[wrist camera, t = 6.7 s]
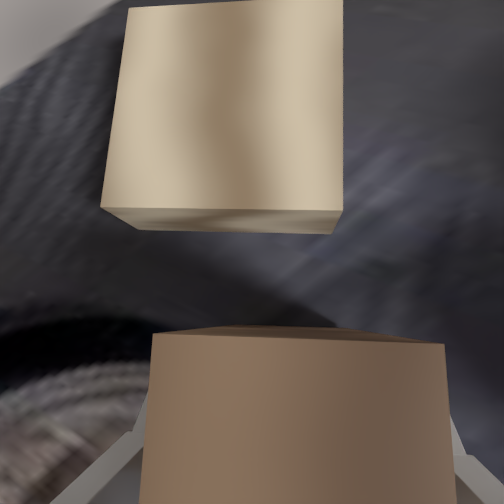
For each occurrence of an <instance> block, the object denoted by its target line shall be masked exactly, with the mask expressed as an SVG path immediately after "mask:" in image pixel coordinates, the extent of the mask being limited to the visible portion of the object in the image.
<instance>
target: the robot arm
mask: <svg viewBox="0 0 504 504" xmlns="http://www.w3.org/2000/svg"><path fill="white" fill-rule="evenodd" d="M147 400H148V392H147V394H146V397H145V399H144V402H143V404H142V407H141V409H140V412H139V415H138V417H137V420H136V422H135V425H134V427H133V430H132V431H127V432H126V433H125V434H124V435H122V436H121V437H120V438H119V439H118V440H117V441H116V442H115V443H114V444H113V445H112V446H111V447H110V448H109V449H107V450H106V451H105V452H104V453H103V454H102V455H101V456H100V457H99V458H98V459H97V460H96V461H95V462H94V463H92V464H91V465H90V466H89V467H88V468H87V469H86V470H85V471H84V472H83V473H82V474H81V475H80V476H79V477H77V478H76V479H75V480H74V481H73V482H72V483H71V484H70V485H69V486H68V487H67V488H66V489H65V490H64V491H62V492H61V493H60V494H59V495H58V496H57V497H56V498H55V499H54V500H53V501H52V502H51V503H50V504H139V496H140V484H141V472H142V460H143V448H144V436H145V424H146V412H147ZM450 422H451V435H452V447H453V460H454V473H455V485H456V498H457V504H504V485H503V484H502V483H501V482H500V481H499V480H498V479H497V478H496V477H494V476H493V475H492V474H491V473H490V472H489V471H488V470H487V469H486V468H485V467H484V466H483V465H482V464H481V463H480V462H479V461H478V460H477V459H476V458H475V457H474V456H473V455H466V452H465V450H464V448H463V445H462V443H461V440H460V438H459V436H458V433H457V431H456V428H455V426H454V424H453V421H452V419H451V416H450Z"/></svg>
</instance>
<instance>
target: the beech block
mask: <svg viewBox="0 0 504 504" xmlns="http://www.w3.org/2000/svg"><path fill="white" fill-rule="evenodd" d="M100 207H101V208H103V209H104V210H106V211H108V212H109V213H111V214H113V215H114V216H116V217H118V218H119V219H121V220H123V221H124V222H126V223H128V224H130V225H131V226H133V227H135V228H136V229H138V230H168V231H214V232H260V233H305V234H332V232H333V230H334V228H335V226H336V224H337V222H338V220H339V218H340V216H341V213H342V211H343V0H253V1H237V2H220V3H204V4H187V5H170V6H154V7H137V8H129V12H128V19H127V26H126V33H125V39H124V46H123V53H122V60H121V67H120V74H119V81H118V88H117V95H116V102H115V108H114V115H113V122H112V129H111V136H110V143H109V150H108V157H107V164H106V171H105V178H104V184H103V191H102V198H101V205H100Z"/></svg>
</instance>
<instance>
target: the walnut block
mask: <svg viewBox="0 0 504 504" xmlns="http://www.w3.org/2000/svg"><path fill="white" fill-rule="evenodd" d="M139 504H457V498H456V485H455V473H454V460H453V447H452V435H451V422H450V409H449V397H448V384H447V371H446V359H445V346H444V344H441V343H435V342H429V341H422V340H416V339H410V338H404V337H398V336H391V335H385V334H379V333H373V332H367V331H360V330H354V329H348V328H328V327H297V326H266V325H228V326H219V327H210V328H200V329H191V330H182V331H173V332H163V333H154V334H153V340H152V352H151V364H150V376H149V388H148V400H147V412H146V424H145V436H144V448H143V460H142V472H141V484H140V496H139Z"/></svg>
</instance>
